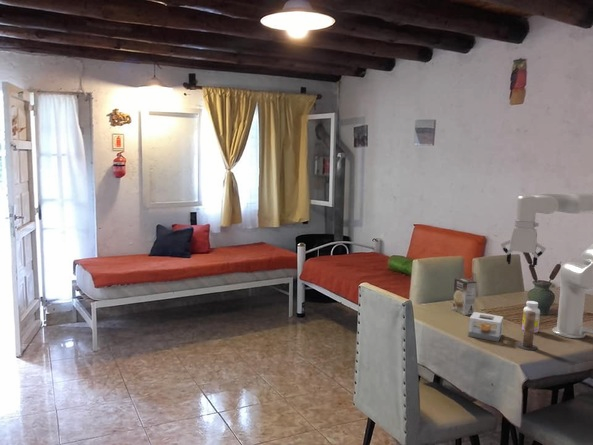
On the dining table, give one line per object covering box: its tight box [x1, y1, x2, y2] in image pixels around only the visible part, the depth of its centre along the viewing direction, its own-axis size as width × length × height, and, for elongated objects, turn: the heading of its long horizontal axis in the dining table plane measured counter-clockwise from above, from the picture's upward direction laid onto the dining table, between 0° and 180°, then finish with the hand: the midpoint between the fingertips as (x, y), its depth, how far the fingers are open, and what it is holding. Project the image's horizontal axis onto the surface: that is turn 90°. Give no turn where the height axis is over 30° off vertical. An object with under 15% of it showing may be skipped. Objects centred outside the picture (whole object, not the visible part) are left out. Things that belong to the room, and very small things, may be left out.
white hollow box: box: [467, 311, 504, 342], centre depth 220 cm, size 12×10×8 cm
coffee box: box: [452, 277, 477, 316], centre depth 253 cm, size 9×6×16 cm
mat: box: [517, 342, 538, 351], centre depth 208 cm, size 7×7×1 cm
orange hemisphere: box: [480, 323, 492, 332], centre depth 220 cm, size 4×4×2 cm
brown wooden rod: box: [522, 311, 536, 348], centre depth 207 cm, size 4×4×14 cm
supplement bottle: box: [521, 300, 541, 334], centre depth 228 cm, size 7×7×13 cm
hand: (521, 265), depth 220 cm, fingers open, 9 cm apart
